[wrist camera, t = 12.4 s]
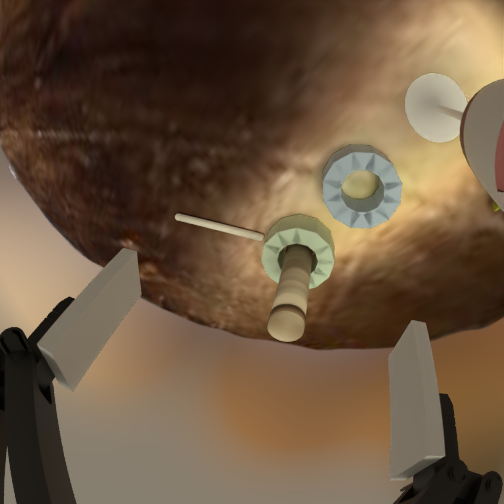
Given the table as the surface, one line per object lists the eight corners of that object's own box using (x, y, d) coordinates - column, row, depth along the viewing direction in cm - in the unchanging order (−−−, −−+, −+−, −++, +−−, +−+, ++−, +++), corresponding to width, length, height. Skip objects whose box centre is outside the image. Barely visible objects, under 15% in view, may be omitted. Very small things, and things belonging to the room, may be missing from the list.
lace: (177, 211, 45) (174, 214, 44) (265, 233, 43) (264, 236, 42) (176, 217, 45) (173, 220, 44) (264, 239, 44) (262, 243, 43)
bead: (274, 207, 41) (269, 220, 38) (341, 225, 40) (342, 239, 37) (262, 263, 46) (256, 280, 43) (322, 279, 45) (321, 296, 42)
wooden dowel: (290, 230, 42) (271, 311, 29) (316, 237, 42) (308, 320, 29) (284, 253, 44) (264, 336, 31) (309, 259, 44) (298, 345, 31)
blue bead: (322, 144, 35) (321, 151, 32) (396, 146, 33) (403, 154, 30) (323, 213, 40) (323, 227, 37) (391, 215, 38) (397, 229, 35)
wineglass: (482, 128, 29) (605, 200, 10) (419, 157, 33) (509, 258, 14) (453, 59, 26) (582, 63, 7) (386, 89, 30) (471, 110, 11)
